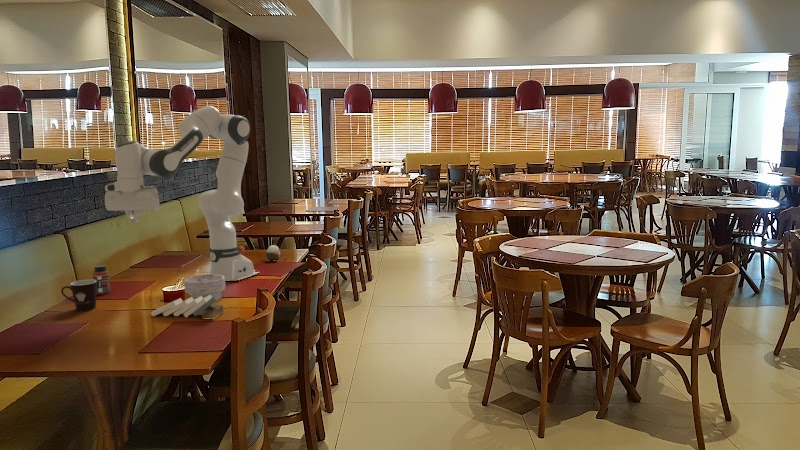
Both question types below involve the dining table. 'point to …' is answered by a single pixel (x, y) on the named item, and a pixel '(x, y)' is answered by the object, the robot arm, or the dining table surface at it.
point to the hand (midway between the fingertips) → (134, 222)
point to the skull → (273, 253)
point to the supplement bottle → (101, 279)
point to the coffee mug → (83, 294)
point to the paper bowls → (204, 285)
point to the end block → (212, 311)
